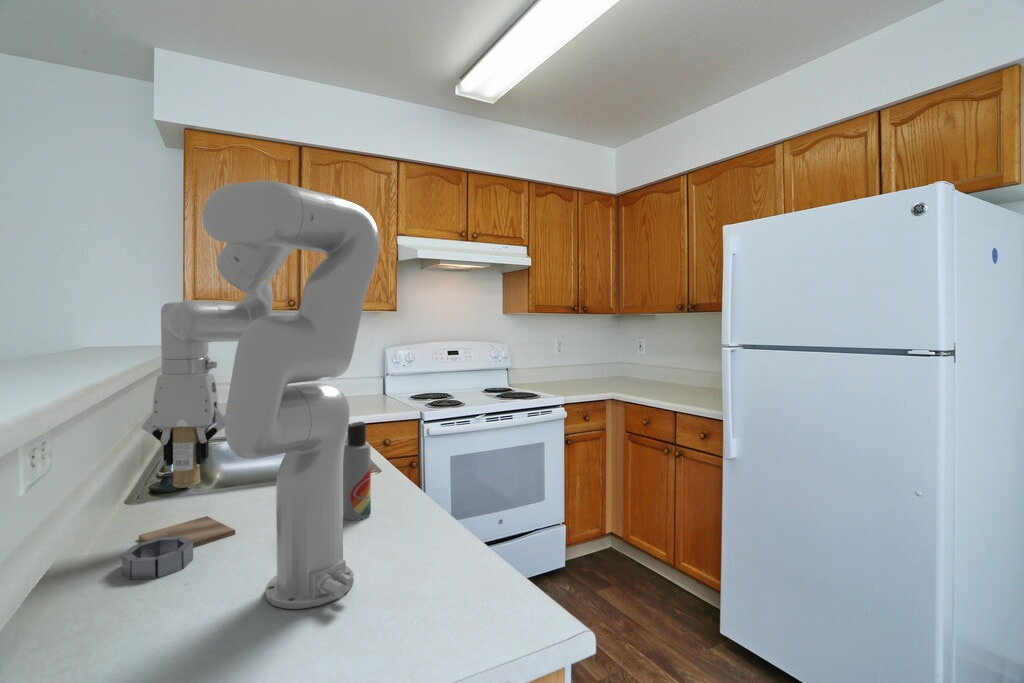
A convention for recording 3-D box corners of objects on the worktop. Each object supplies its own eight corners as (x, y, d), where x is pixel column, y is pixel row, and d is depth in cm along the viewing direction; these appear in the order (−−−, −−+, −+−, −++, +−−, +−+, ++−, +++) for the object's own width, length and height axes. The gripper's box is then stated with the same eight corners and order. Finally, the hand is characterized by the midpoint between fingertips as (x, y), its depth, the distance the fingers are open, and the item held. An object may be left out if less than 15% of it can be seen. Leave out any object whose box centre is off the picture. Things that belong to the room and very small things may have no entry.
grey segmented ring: (200, 563, 87) (200, 545, 86) (136, 585, 79) (136, 566, 79) (177, 548, 92) (177, 532, 92) (115, 568, 85) (115, 550, 84)
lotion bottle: (374, 517, 108) (374, 423, 107) (347, 523, 104) (347, 426, 104) (365, 509, 112) (365, 419, 112) (339, 514, 109) (339, 422, 109)
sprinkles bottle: (206, 481, 99) (205, 413, 99) (188, 489, 95) (188, 417, 94) (184, 480, 100) (183, 412, 99) (166, 487, 95) (165, 416, 95)
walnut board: (235, 534, 99) (235, 529, 99) (165, 556, 89) (164, 552, 89) (207, 519, 106) (206, 516, 106) (138, 539, 96) (138, 535, 96)
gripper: (239, 365, 102) (240, 456, 103) (143, 366, 98) (144, 460, 98) (228, 369, 95) (229, 466, 95) (124, 370, 91) (125, 471, 91)
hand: (186, 462), depth 97 cm, fingers closed on sprinkles bottle, 4 cm apart
